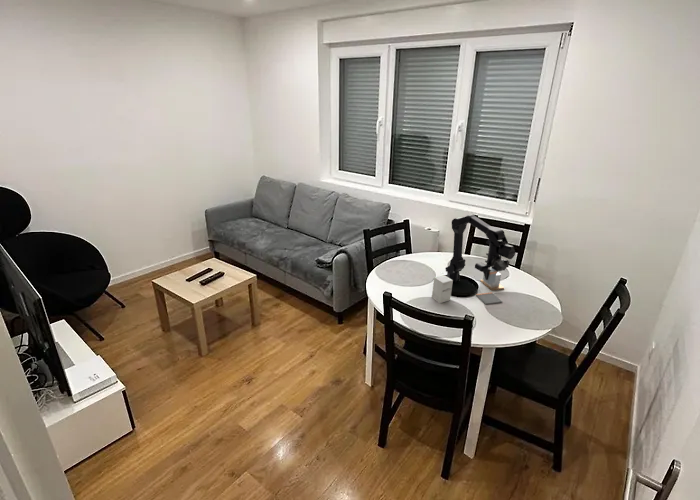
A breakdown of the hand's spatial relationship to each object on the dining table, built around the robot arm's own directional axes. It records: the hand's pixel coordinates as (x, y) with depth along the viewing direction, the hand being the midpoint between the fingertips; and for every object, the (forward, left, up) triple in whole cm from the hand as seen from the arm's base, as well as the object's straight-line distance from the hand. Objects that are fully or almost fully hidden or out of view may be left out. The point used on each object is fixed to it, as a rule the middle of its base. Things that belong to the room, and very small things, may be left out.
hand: (489, 279), depth 208 cm
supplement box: (-25, +5, -12) cm, 28 cm away
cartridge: (0, 0, -2) cm, 2 cm away
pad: (+1, -1, -12) cm, 12 cm away
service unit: (+12, +13, -12) cm, 21 cm away
